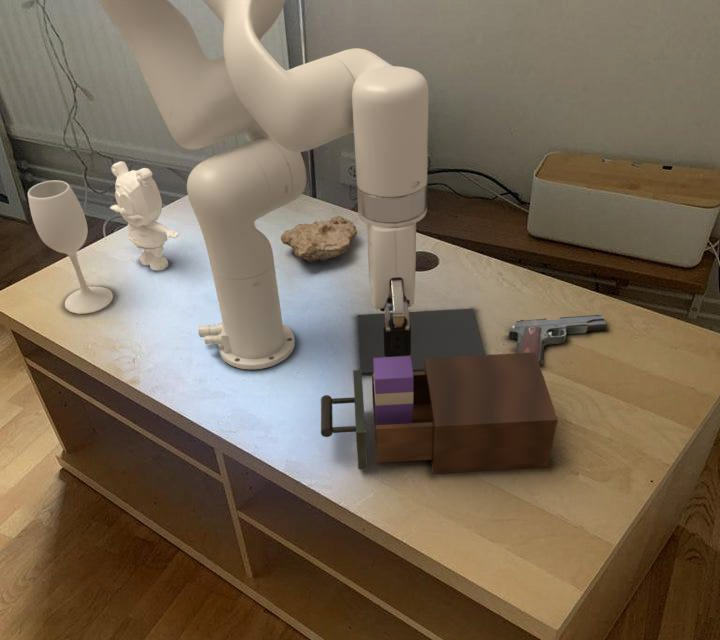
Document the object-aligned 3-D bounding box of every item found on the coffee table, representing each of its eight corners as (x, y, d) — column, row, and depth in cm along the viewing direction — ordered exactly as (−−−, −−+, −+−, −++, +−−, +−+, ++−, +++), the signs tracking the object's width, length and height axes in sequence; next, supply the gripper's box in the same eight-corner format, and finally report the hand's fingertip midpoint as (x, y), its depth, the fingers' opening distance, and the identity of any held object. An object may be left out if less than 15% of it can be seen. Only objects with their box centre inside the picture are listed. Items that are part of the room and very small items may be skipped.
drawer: (323, 471, 99) (319, 434, 94) (323, 408, 108) (319, 371, 103) (464, 463, 99) (468, 426, 94) (452, 401, 108) (455, 364, 103)
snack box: (376, 440, 101) (374, 379, 93) (375, 419, 104) (373, 357, 96) (412, 438, 101) (413, 377, 93) (410, 417, 104) (410, 355, 96)
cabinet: (432, 473, 99) (435, 426, 93) (422, 405, 109) (424, 358, 102) (547, 467, 99) (557, 419, 93) (527, 399, 109) (535, 352, 102)
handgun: (514, 369, 114) (515, 359, 112) (499, 328, 121) (500, 319, 120) (622, 362, 114) (625, 352, 113) (600, 322, 122) (603, 313, 121)
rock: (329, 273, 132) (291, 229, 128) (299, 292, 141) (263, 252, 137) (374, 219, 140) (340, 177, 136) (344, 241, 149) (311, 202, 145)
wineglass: (55, 309, 131) (9, 197, 116) (84, 284, 136) (44, 174, 121) (94, 318, 128) (52, 204, 113) (122, 292, 134) (86, 181, 118)
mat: (360, 375, 114) (360, 372, 114) (357, 317, 125) (357, 314, 125) (486, 368, 114) (487, 365, 114) (472, 311, 125) (472, 308, 125)
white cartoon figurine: (171, 289, 134) (144, 187, 120) (107, 255, 143) (75, 157, 129) (202, 271, 138) (179, 171, 124) (138, 240, 147) (110, 143, 133)
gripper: (355, 167, 84) (362, 295, 96) (360, 240, 72) (367, 376, 84) (419, 163, 84) (418, 292, 96) (435, 235, 72) (431, 372, 84)
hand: (394, 331), depth 90 cm, fingers open, 9 cm apart
